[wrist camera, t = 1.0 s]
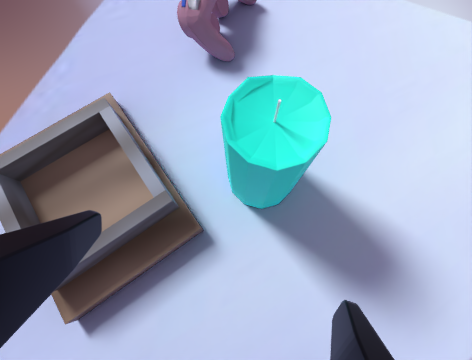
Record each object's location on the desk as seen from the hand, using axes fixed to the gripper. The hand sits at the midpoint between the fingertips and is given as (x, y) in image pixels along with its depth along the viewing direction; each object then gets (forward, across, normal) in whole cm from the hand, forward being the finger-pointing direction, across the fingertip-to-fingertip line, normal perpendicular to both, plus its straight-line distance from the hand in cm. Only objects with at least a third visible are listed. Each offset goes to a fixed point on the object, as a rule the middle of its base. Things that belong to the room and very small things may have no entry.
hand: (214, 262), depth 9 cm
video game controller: (+26, +9, -7) cm, 29 cm away
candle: (+15, 0, +4) cm, 16 cm away
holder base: (+11, +13, +8) cm, 19 cm away
